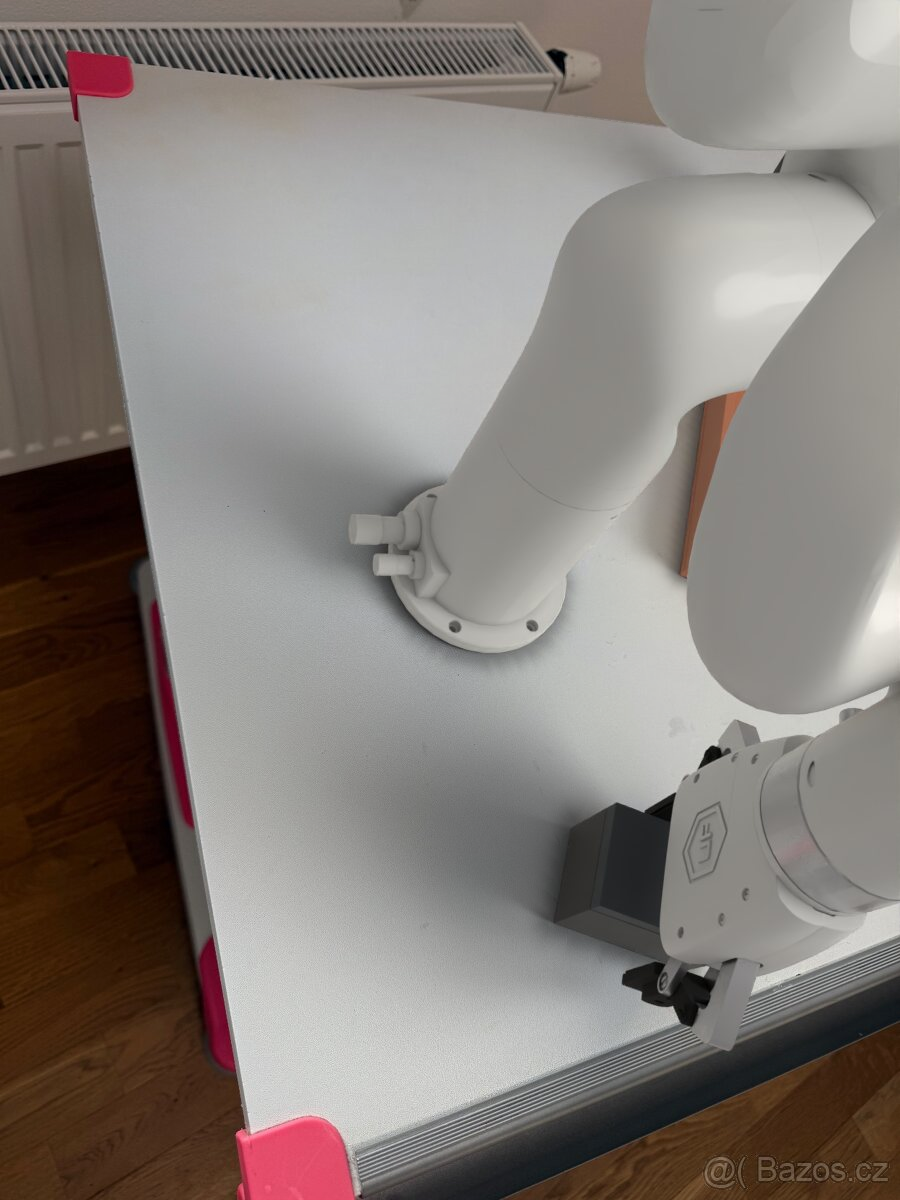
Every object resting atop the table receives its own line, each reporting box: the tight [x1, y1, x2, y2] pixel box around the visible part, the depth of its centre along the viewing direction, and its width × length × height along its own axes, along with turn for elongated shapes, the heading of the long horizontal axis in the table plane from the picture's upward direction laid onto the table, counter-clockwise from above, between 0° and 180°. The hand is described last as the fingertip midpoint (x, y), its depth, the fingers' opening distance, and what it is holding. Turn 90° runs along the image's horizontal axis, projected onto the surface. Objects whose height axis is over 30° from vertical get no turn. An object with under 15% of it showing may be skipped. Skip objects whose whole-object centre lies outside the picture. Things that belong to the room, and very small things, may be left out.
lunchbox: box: [553, 802, 706, 971], centre depth 57 cm, size 9×6×6 cm, turn 76°
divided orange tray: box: [679, 390, 746, 579], centre depth 78 cm, size 14×26×4 cm, turn 166°
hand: (655, 902), depth 57 cm, fingers open, 9 cm apart
